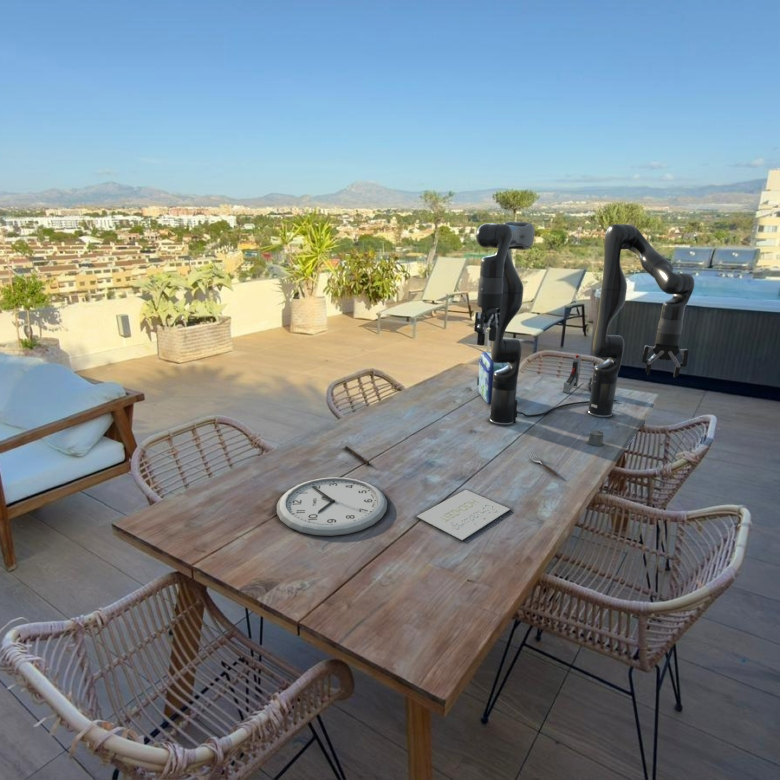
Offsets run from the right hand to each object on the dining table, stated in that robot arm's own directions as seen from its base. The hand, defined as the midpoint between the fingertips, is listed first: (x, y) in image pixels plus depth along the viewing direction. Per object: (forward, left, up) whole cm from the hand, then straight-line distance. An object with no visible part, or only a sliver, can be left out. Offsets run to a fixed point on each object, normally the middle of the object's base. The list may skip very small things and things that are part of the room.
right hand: (661, 375), depth 188 cm
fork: (+45, -32, -24) cm, 60 cm away
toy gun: (-49, -33, -24) cm, 63 cm away
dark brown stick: (+64, -90, -24) cm, 113 cm away
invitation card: (+83, -48, -24) cm, 99 cm away
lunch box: (-17, -64, -24) cm, 70 cm away
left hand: (+43, -54, +15) cm, 71 cm away
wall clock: (+95, -82, -24) cm, 127 cm away
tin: (+16, -19, -24) cm, 34 cm away
